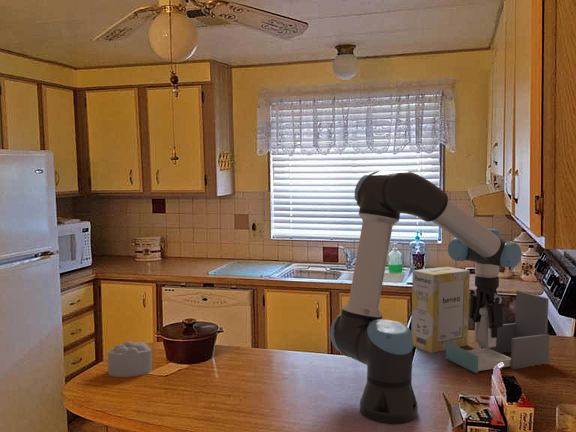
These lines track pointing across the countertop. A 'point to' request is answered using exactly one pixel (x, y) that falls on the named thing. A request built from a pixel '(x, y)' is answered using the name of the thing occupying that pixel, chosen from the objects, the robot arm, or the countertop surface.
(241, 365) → the countertop surface
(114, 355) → the lumpy-topped squat cylinder
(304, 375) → the countertop surface
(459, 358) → the tray
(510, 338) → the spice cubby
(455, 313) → the pasta box
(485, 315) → the salt shaker
